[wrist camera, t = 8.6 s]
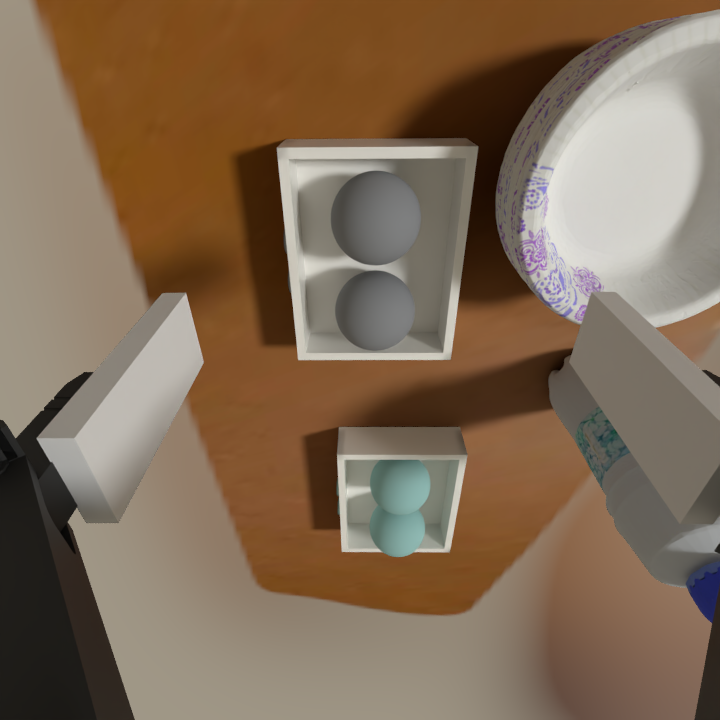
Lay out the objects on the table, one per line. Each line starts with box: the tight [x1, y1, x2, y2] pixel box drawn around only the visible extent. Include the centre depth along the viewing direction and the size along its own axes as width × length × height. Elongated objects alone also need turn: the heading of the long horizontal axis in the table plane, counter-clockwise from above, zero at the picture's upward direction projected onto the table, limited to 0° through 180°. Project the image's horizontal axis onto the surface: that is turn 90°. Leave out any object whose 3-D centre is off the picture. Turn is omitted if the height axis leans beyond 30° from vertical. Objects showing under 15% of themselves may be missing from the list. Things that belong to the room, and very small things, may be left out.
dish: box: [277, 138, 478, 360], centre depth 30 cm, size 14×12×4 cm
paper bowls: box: [496, 10, 720, 328], centre depth 25 cm, size 15×15×8 cm
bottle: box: [548, 355, 720, 623], centre depth 29 cm, size 7×7×20 cm
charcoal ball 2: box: [335, 270, 415, 351], centre depth 30 cm, size 6×6×6 cm
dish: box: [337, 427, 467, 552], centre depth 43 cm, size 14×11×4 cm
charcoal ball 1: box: [331, 171, 421, 266], centre depth 27 cm, size 6×6×6 cm
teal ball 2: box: [369, 505, 425, 557], centre depth 43 cm, size 6×6×6 cm
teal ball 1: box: [370, 460, 430, 515], centre depth 40 cm, size 6×6×6 cm
